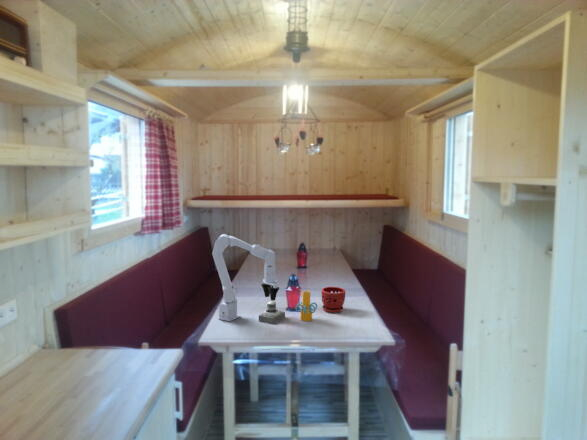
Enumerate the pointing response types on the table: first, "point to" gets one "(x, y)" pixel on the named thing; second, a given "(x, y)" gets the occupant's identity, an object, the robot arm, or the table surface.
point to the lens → (271, 307)
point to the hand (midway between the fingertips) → (270, 298)
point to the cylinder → (306, 306)
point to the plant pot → (333, 299)
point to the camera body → (271, 316)
